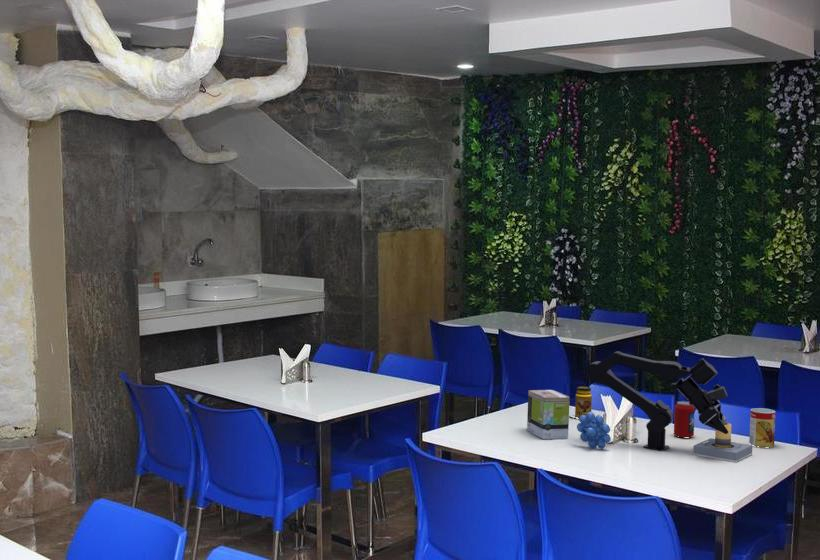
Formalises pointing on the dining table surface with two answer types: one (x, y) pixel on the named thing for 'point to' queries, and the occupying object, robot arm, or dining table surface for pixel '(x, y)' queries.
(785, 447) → the dining table surface
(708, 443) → the grey square holder
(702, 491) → the dining table surface
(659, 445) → the robot arm
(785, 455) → the dining table surface
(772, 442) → the canned food
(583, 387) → the condiment
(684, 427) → the beverage can
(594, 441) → the grapes
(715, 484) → the dining table surface
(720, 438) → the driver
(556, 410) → the tea box
